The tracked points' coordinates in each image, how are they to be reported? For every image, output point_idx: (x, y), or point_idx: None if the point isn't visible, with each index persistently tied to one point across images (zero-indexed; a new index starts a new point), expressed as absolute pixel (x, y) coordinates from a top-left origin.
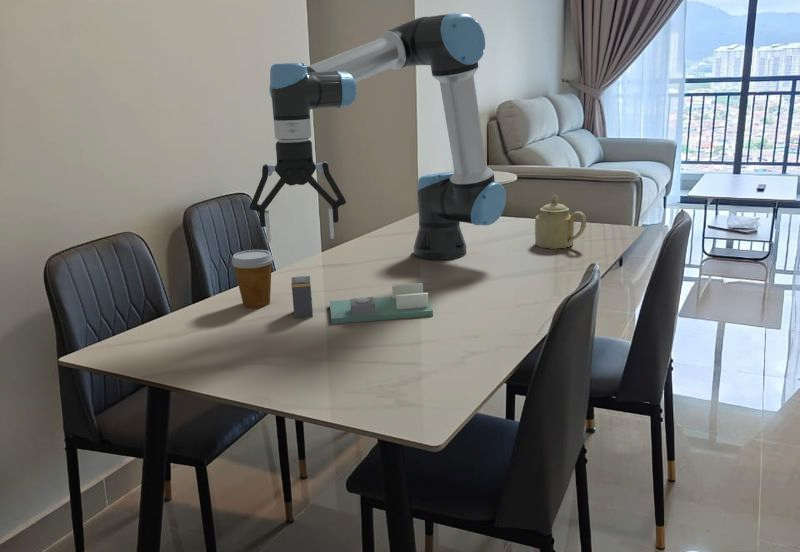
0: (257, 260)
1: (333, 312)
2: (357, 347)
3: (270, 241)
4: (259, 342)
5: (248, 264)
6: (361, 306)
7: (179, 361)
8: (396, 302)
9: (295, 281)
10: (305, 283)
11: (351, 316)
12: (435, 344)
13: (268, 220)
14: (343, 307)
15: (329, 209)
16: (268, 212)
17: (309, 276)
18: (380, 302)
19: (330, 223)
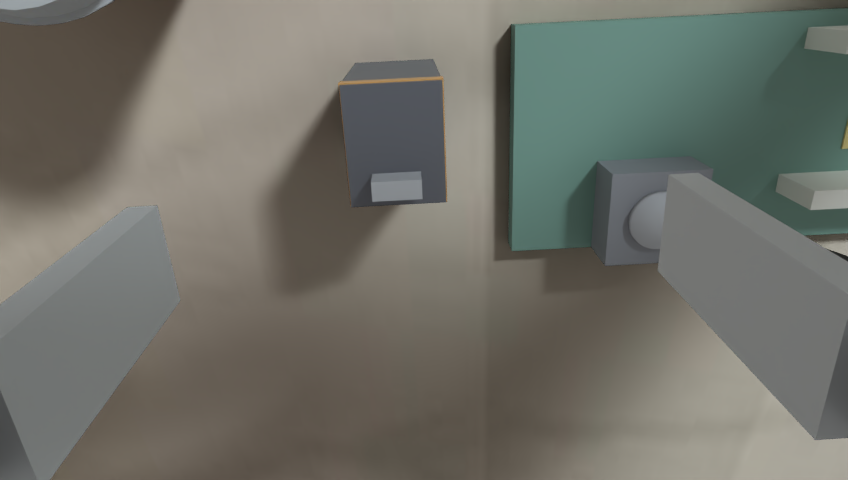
0: (71, 2)
1: (524, 185)
2: (571, 432)
3: (176, 305)
4: (273, 362)
5: (22, 18)
6: (642, 262)
7: (69, 456)
8: (792, 189)
9: (368, 171)
10: (422, 201)
11: (588, 240)
12: (786, 440)
13: (89, 423)
14: (569, 129)
15: (818, 436)
16: (17, 392)
17: (440, 88)
18: (735, 91)
19: (726, 336)
